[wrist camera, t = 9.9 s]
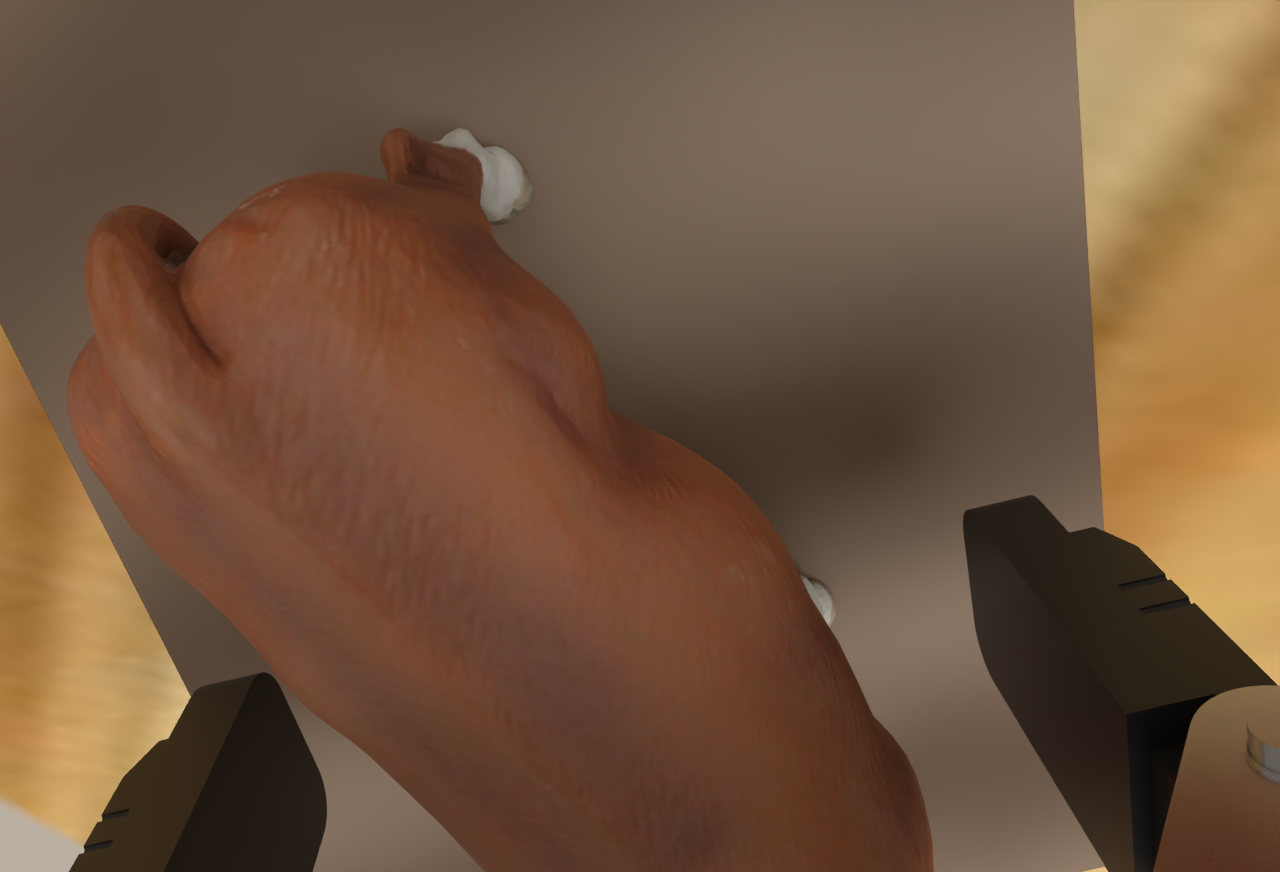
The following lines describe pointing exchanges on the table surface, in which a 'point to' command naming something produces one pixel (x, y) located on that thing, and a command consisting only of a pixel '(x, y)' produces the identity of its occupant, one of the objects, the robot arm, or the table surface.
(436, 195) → the bull figurine
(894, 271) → the walnut block
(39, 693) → the table surface
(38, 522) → the table surface
